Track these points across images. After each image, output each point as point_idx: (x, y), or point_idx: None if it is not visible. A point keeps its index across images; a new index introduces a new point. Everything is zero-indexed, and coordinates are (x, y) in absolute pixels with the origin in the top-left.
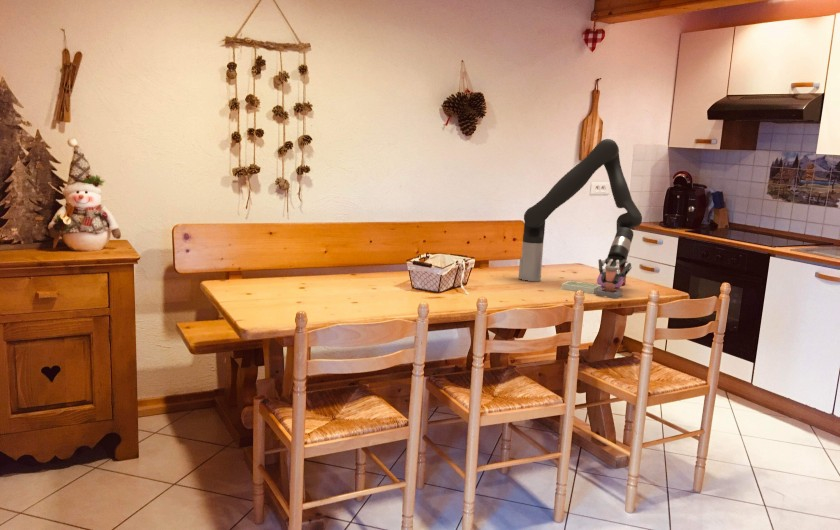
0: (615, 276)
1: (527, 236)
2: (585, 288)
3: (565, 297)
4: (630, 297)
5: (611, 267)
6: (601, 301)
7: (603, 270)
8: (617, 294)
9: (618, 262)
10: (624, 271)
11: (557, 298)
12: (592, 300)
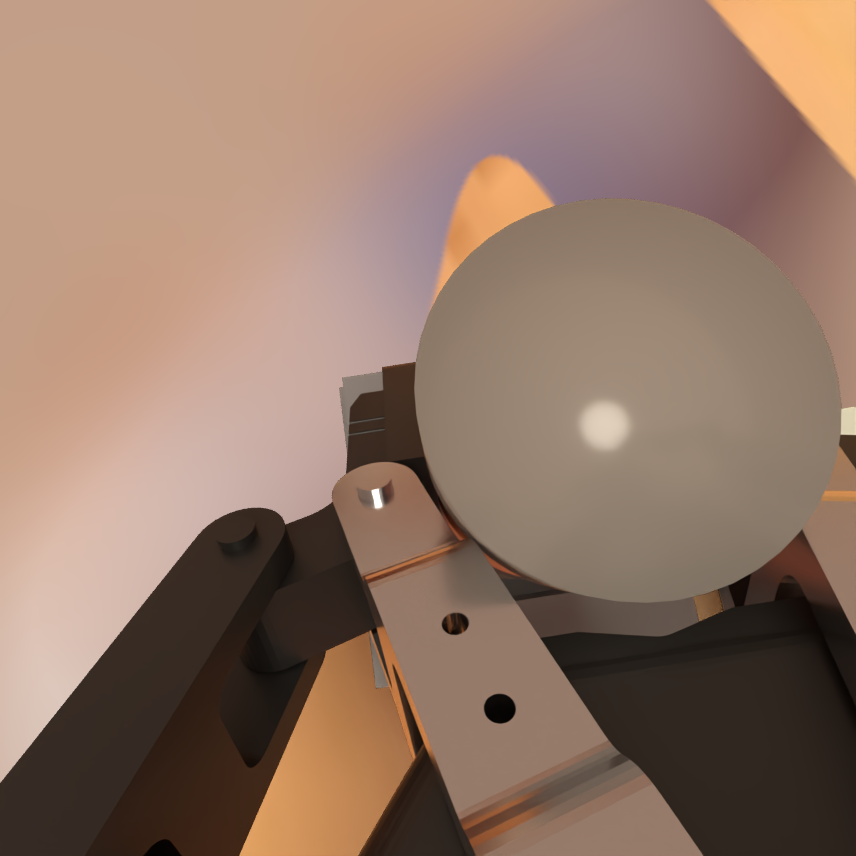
0: (410, 420)
1: None
2: (847, 410)
3: (816, 110)
4: (299, 776)
5: (525, 220)
6: (453, 233)
7: None
8: None
9: (518, 845)
10: (186, 574)
11: (830, 12)
12: (545, 202)
